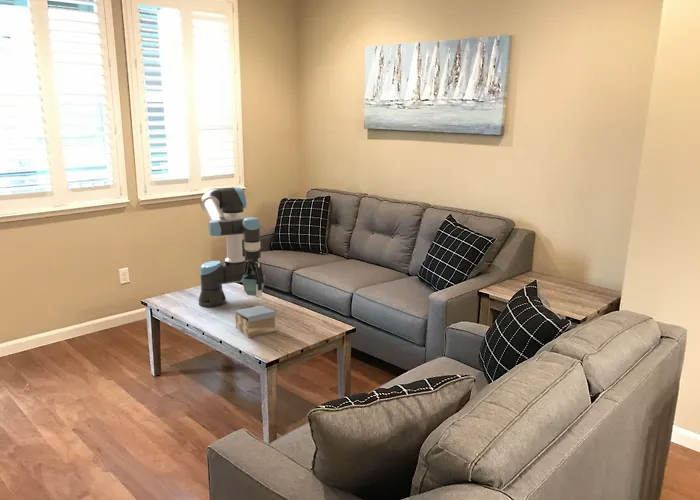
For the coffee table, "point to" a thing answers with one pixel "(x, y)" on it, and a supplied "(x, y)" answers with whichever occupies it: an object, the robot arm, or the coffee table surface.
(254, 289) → the flower pot
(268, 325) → the crate
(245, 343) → the coffee table surface
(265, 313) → the lid
